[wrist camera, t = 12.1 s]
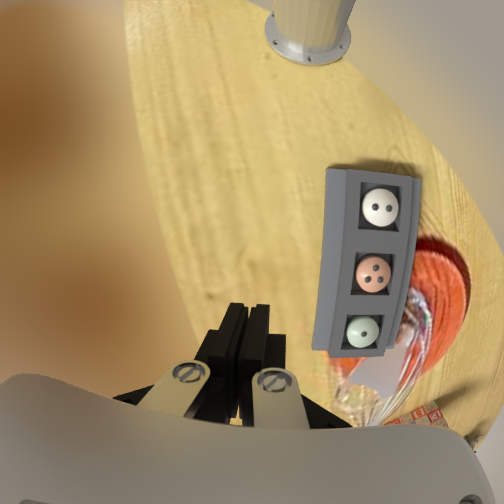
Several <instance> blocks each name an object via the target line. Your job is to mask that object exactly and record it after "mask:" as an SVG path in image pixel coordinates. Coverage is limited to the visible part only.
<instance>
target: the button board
mask: <svg viewBox="0 0 504 504" xmlns="http://www.w3.org/2000/svg"><path fill="white" fill-rule="evenodd" d="M375 188H379V189H386V190H388V191H390V192H391V193H393V195H394V196H395V197H396V199H397V202H398V214H397V216H396V218H395V220H394V221H393V222H392V223H391V224H389V225H387V226H376V225H374V224H372V223H370V222H368V221H367V220H366V219H365V218H364V216H363V215H362V212H361V207H360V205H361V200H362V197H363V196H364V194H365V193H366V192H367V191H369V190H371V189H375ZM420 194H421V179H419V178H413V177H412V176H405V175H398V174H390V173H382V172H374V171H365V170H355V169H347V170H344V169H331V168H327V169H326V183H325V209H324V227H323V243H322V256H321V268H320V279H319V289H318V298H317V307H316V316H315V324H314V331H313V339H312V350H328V354H329V358H350V357H374V356H375V357H376V356H384V352H385V349H392V348H394V345H395V341H396V338H397V334H398V330H399V327H400V323H401V319H402V315H403V311H404V307H405V302H406V298H407V293H408V288H409V283H410V278H411V272H412V266H413V260H414V254H415V246H416V239H417V230H418V221H419V209H420ZM370 254H374V255H378V256H379V257H381V258H382V259H383V260H384V261H385V262H387V264H388V265H389V267H390V271H391V275H390V279H389V282H388V283H387V285H386V286H385V287H384V288H383V289H381V290H380V291H377V292H367V291H365V290H363V289H362V288H361V286H360V285H359V283H358V282H357V280H356V278H355V274H354V271H355V266H356V264H357V263H358V261H359V260H360V259H361V258H362V257H364V256H366V255H370ZM355 315H371V316H372V317H373V318H374V320H375V322H376V323H377V325H378V327H379V334H378V337H377V338H376V340H375V341H374V342H373V343H372V344H370V345H368V346H366V347H361V348H359V347H355V346H353V345H351V344H350V342H349V340H348V337H347V334H346V325H347V323H348V321H349V320H350V319H351V318H352V317H353V316H355Z"/></svg>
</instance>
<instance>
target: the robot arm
mask: <svg viewBox="0 0 504 504" xmlns="http://www.w3.org/2000/svg"><path fill="white" fill-rule="evenodd" d="M355 1H356V0H273V8H274V11H273V12H272V13H271V14H270V15H269V17H268V18H267V20H266V23H265V35H266V39H267V41H268V43H269V45H270V47H271V48H272V49H273V50H274V51H275V52H276V53H277V54H279V55H280V56H281V57H283V58H285V59H286V60H289V61H291V62H294V63H297V64H301V65H307V66H322V65H327V64H330V63H333V62H335V61H337V60H338V59H340V58H341V57H342V56H343V55H344V54H345V53H346V51H347V50H348V48H349V45H350V41H351V34H350V30H349V27H348V25H347V24H346V23H347V21H348V18H349V16H350V13H351V11H352V8H353V5H354V3H355ZM274 44H277V45H274ZM341 48H342V49H341ZM308 60H311V61H308ZM269 312H270V305H265V304H257V306H256V307H252V308H251V312H250V316H249V319H248V307H244V304H243V303H230V305H229V307H228V309H227V312H226V314H225V316H224V318H223V321H222V323H221V325H220V327H219V330H212V329H210V330H209V331H208V333H207V335H206V337H205V339H204V341H203V343H202V345H201V347H200V348H199V351H198V352H197V355H196V356H195V359H194V360H184V361H180V362H177V363H175V364H174V365H172V366H171V367H170V368H169V369H168V370H167V372H166V373H165V374H164V375H163V376H162V377H161V379H160V380H159V381H158V382H157V383H156V384H155V385H152V386H148V387H146V388H142V389H139V390H135V391H132V392H129V393H125V394H122V395H118V396H116V397H113V398H108V397H106V396H103V395H100V394H97V393H94V392H91V391H88V390H86V389H83V388H81V387H78V386H75V385H72V384H69V383H66V382H64V381H62V380H59V379H56V378H52V377H49V376H44V375H40V374H32V373H22V374H15V375H13V376H11V377H9V378H8V379H6V380H5V381H3V382H2V383H1V384H0V504H496V500H495V497H494V495H493V492H492V489H491V486H490V484H489V481H488V479H487V477H486V474H485V473H484V470H483V468H482V466H481V464H480V462H479V460H478V458H477V456H476V455H475V453H474V451H473V450H472V448H471V447H470V445H469V444H468V443H467V441H466V440H465V439H464V438H463V437H462V436H461V435H460V434H459V433H457V432H456V431H454V430H452V429H450V428H446V427H442V426H438V425H429V424H390V425H380V426H367V427H363V426H361V427H352V426H351V425H350V424H349V423H347V422H346V421H344V420H342V419H341V418H339V417H337V416H336V415H334V414H332V413H331V412H329V411H327V410H326V409H324V408H322V407H321V406H319V405H318V404H316V403H315V402H313V401H311V400H310V399H308V398H307V397H305V396H304V395H302V394H301V393H300V389H299V385H298V382H297V379H296V377H295V375H294V374H293V373H291V372H290V371H288V370H286V369H285V355H286V334H269ZM238 406H239V417H240V419H242V425H243V426H240V425H231V424H229V423H230V419H231V418H236V415H237V410H238Z"/></svg>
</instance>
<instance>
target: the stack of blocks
mask: <svg viewBox="0 0 504 504" xmlns="http://www.w3.org/2000/svg"><path fill="white" fill-rule="evenodd" d="M390 424H429V425H438V426H442V427H446V428H449V427H448V424H447V422H446V421H445V419H444V417H443V415H442V414H441V412H440V410H439V409H438V406H437V404H436V403H435V401H434V400H433V401H431V402H429V403H428V404H426V405H424V406H422V407H420V408H418V409H416V410H414V411H412V412H410V413H408V414H405V415H403V416H401V417H399V418H398V419H395V420H393V421H391V422H389V423H387V424H384V425H390Z"/></svg>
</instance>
